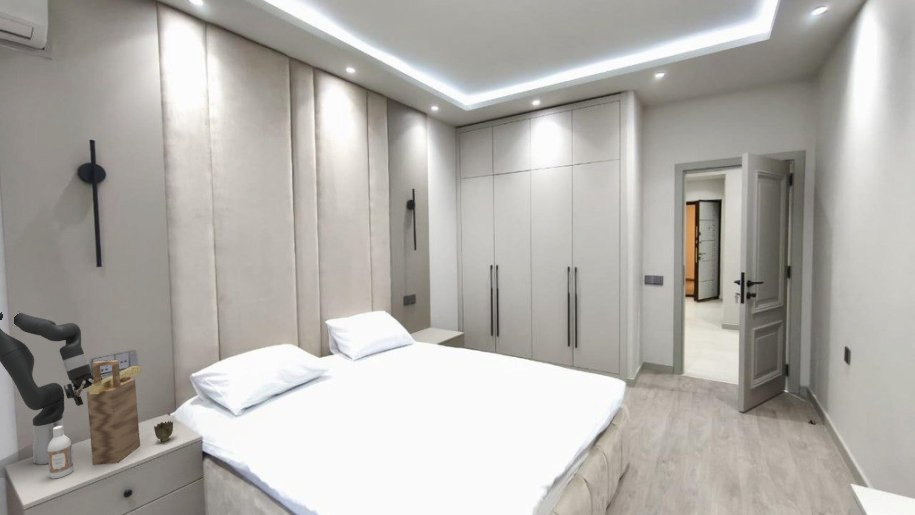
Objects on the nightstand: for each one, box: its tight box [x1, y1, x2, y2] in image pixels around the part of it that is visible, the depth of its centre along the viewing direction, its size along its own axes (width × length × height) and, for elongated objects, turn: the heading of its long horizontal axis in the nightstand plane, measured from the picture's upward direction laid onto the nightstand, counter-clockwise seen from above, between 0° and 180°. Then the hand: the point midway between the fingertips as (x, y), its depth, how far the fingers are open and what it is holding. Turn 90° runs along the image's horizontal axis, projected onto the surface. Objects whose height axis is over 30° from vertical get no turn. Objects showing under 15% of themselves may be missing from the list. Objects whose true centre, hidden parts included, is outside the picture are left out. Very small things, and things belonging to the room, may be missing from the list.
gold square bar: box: [88, 365, 141, 394], centre depth 178 cm, size 4×26×4 cm, turn 7°
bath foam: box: [48, 426, 74, 480], centre depth 163 cm, size 7×7×20 cm
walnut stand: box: [86, 359, 141, 466], centre depth 176 cm, size 10×14×44 cm
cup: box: [153, 420, 174, 443], centre depth 189 cm, size 8×7×8 cm
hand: (90, 401), depth 175 cm, fingers open, 8 cm apart
